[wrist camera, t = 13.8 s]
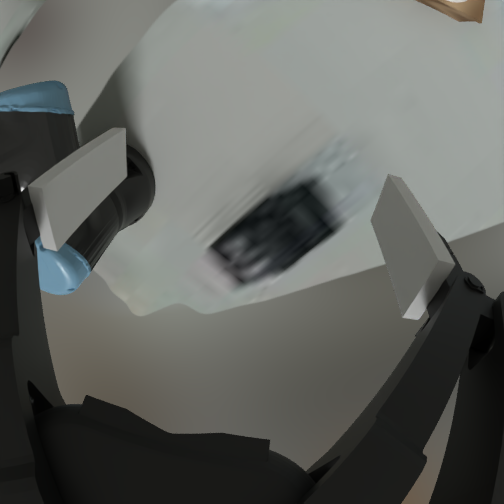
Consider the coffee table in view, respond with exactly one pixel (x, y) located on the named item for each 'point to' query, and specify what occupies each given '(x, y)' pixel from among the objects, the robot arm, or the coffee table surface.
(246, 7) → the coffee table surface
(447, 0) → the mug
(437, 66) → the coffee table surface
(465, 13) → the walnut box
